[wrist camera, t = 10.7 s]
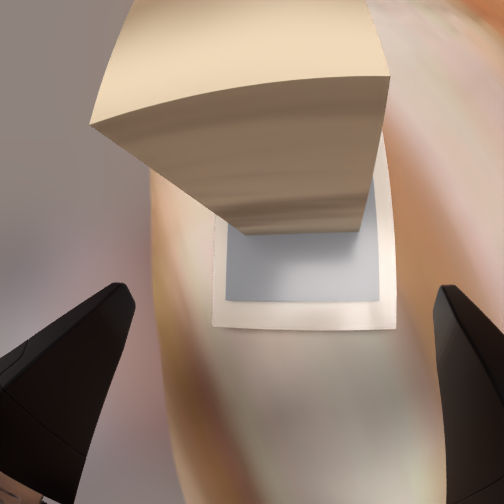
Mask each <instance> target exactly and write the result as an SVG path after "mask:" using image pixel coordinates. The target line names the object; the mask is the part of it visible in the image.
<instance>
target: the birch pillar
mask: <svg viewBox="0 0 504 504" xmlns="http://www.w3.org/2000/svg"><path fill="white" fill-rule="evenodd" d="M389 82H390V73H389V70H388V66H387V63H386V59H385V56H384V53H383V50H382V46H381V43H380V40H379V37H378V34H377V31H376V28H375V25H374V23H373V20H372V17H371V14H370V12H369V9H368V6H367V4H366V1H365V0H135V1H134V3H133V5H132V7H131V9H130V11H129V14H128V16H127V18H126V21H125V23H124V25H123V27H122V30H121V32H120V34H119V37H118V39H117V42H116V44H115V47H114V50H113V52H112V55H111V58H110V60H109V63H108V66H107V69H106V72H105V75H104V78H103V81H102V84H101V87H100V90H99V93H98V96H97V99H96V103H95V106H94V110H93V114H92V117H91V121H90V124H89V125H90V126H92V127H93V128H95V129H96V130H98V131H99V132H100V133H102V134H103V135H105V136H106V137H107V138H109V139H111V140H112V141H113V142H115V143H116V144H117V145H119V146H120V147H122V148H123V149H125V150H126V151H127V152H129V153H130V154H132V155H133V156H135V157H136V158H137V159H139V160H140V161H142V162H143V163H144V164H146V165H147V166H149V167H150V168H152V169H153V170H154V171H156V172H157V173H159V174H160V175H161V176H163V177H164V178H166V179H167V180H168V181H170V182H171V183H173V184H174V185H176V186H177V187H178V188H180V189H181V190H183V191H184V192H185V193H187V194H188V195H190V196H191V197H192V198H194V199H195V200H197V201H198V202H199V203H201V204H202V205H204V206H205V207H206V208H208V209H209V210H211V211H212V212H213V213H215V214H216V215H218V216H219V217H220V218H222V219H223V220H225V221H226V222H227V223H229V224H230V225H232V226H233V227H234V228H236V229H237V230H239V231H240V232H241V233H243V234H244V235H272V234H302V233H337V232H359V231H360V227H361V223H362V219H363V215H364V211H365V207H366V203H367V198H368V194H369V190H370V185H371V181H372V176H373V172H374V167H375V162H376V157H377V152H378V147H379V142H380V137H381V131H382V126H383V120H384V114H385V108H386V102H387V96H388V89H389Z"/></svg>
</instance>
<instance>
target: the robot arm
mask: <svg viewBox="0 0 504 504" xmlns="http://www.w3.org/2000/svg"><path fill="white" fill-rule="evenodd" d="M134 312H135V301H134V299H133V297H132V295H131V293H130V291H129V289H128V287H127V286H126V284H124V283H112V284H110V285H108V286H107V287H105V288H104V289H102V290H101V291H99V292H98V293H96V294H94V295H93V296H92V297H90V298H88V299H87V300H85V301H84V302H82V303H81V304H79V305H78V306H76V307H75V308H74V309H72V310H70V311H69V312H67V313H66V314H64V315H63V316H62V317H60V318H58V319H57V320H56V321H54V322H52V323H51V324H50V325H48V326H47V327H45V328H44V329H42V330H41V331H39V332H38V333H37V334H35V335H34V336H32V337H31V338H30V339H29V340H26V341H25V342H24V343H22V344H21V345H19V346H18V347H16V348H15V349H13V350H12V351H11V352H9V353H8V354H6V355H4V356H3V357H1V358H0V504H47V503H46V502H44V501H43V500H42V499H43V497H44V496H45V497H48V498H50V499H52V500H54V501H56V502H58V503H60V504H74V501H75V497H76V493H77V489H78V485H79V481H80V478H81V475H82V471H83V467H84V464H85V460H86V456H87V453H88V450H89V447H90V444H91V440H92V437H93V434H94V431H95V428H96V425H97V422H98V419H99V416H100V413H101V410H102V407H103V404H104V401H105V398H106V396H107V393H108V390H109V387H110V384H111V381H112V379H113V376H114V373H115V371H116V368H117V365H118V363H119V360H120V358H121V355H122V352H123V349H124V346H125V343H126V339H127V335H128V332H129V328H130V325H131V322H132V318H133V315H134ZM433 322H434V333H435V346H436V362H437V372H438V380H439V387H440V394H441V402H442V411H443V422H444V433H445V449H446V479H447V493H446V504H504V334H503V333H502V332H501V331H500V330H499V329H498V328H497V327H496V326H495V325H494V323H493V322H492V321H491V320H490V319H489V318H488V317H487V316H486V315H485V314H484V313H483V312H482V311H481V310H480V309H479V308H478V307H477V306H476V305H475V304H474V303H473V302H472V301H471V300H470V299H469V298H468V297H467V296H466V295H465V294H464V293H463V292H462V291H461V290H460V289H459V288H458V287H457V286H455V285H441V286H440V287H439V290H438V293H437V297H436V301H435V304H434V308H433Z"/></svg>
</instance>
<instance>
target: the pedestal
mask: <svg viewBox="0 0 504 504" xmlns="http://www.w3.org/2000/svg"><path fill="white" fill-rule="evenodd" d="M212 327H227V328H247V329H273V330H383V329H396V257H395V237H394V223H393V211H392V200H391V190H390V181H389V173H388V166H387V158H386V151H385V145H384V139H383V133H382V131H381V137H380V142H379V147H378V152H377V157H376V162H375V167H374V172H373V176H372V181H371V185H370V190H369V194H368V198H367V203H366V207H365V211H364V215H363V219H362V223H361V227H360V231H359V232H337V233H302V234H272V235H244V234H243V233H241V232H240V231H239V230H237V229H236V228H234V227H233V226H232V225H230V224H229V223H227V222H226V221H225V220H223V219H222V218H220V217H219V216H218V215H216V216H215V238H214V263H213V295H212Z"/></svg>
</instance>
